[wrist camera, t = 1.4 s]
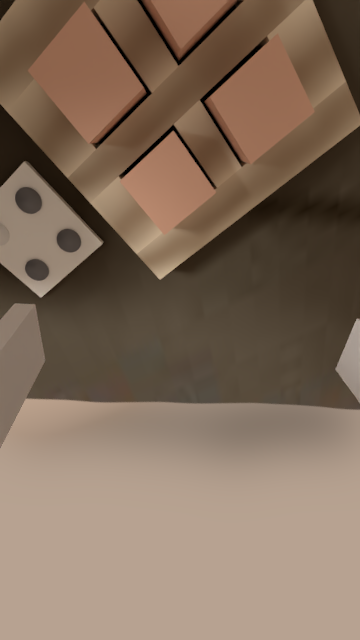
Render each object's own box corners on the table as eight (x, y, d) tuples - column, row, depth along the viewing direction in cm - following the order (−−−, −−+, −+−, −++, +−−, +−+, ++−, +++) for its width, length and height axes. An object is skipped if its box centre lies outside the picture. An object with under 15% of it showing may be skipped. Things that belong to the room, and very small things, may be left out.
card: (-35, 228, 29) (-40, 230, 29) (26, 160, 27) (23, 161, 26) (42, 295, 33) (40, 298, 32) (103, 241, 31) (102, 244, 30)
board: (-13, 73, 24) (-34, 66, 21) (200, -202, 18) (207, -258, 15) (160, 267, 32) (159, 279, 30) (343, 123, 26) (363, 123, 24)
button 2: (125, 175, 26) (119, 181, 23) (172, 131, 24) (173, 130, 21) (164, 223, 28) (164, 235, 25) (210, 185, 26) (216, 192, 23)
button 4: (204, 101, 23) (209, 96, 20) (261, 47, 22) (277, 33, 19) (240, 160, 25) (251, 164, 22) (295, 114, 24) (314, 111, 21)
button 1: (46, 79, 22) (27, 70, 19) (96, 20, 21) (84, 1, 18) (98, 142, 24) (88, 144, 21) (146, 93, 23) (143, 87, 20)
